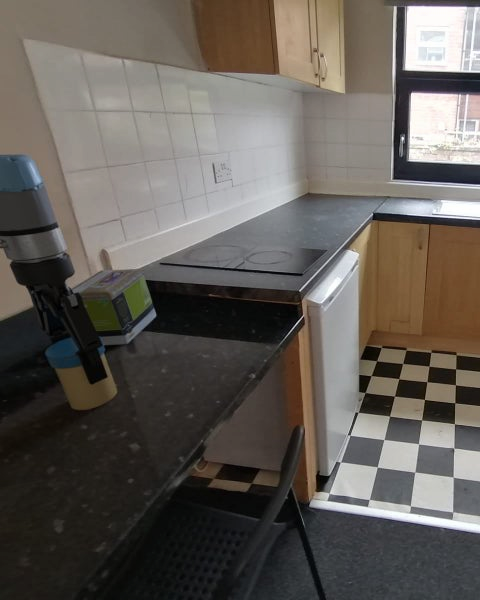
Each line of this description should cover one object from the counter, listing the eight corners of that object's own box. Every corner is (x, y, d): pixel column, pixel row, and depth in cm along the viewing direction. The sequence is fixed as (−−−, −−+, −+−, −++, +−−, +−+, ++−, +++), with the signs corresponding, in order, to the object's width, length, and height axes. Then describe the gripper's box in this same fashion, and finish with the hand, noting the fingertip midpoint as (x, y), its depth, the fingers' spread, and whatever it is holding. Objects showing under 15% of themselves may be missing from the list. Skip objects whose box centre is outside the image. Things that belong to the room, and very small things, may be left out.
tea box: (119, 322, 105) (101, 268, 99) (159, 320, 106) (144, 267, 100) (83, 352, 91) (60, 292, 85) (129, 350, 92) (109, 290, 86)
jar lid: (39, 372, 68) (34, 360, 67) (62, 348, 75) (58, 337, 74) (94, 364, 70) (90, 353, 69) (111, 342, 77) (108, 331, 76)
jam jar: (62, 413, 72) (39, 361, 68) (80, 389, 79) (60, 340, 74) (109, 406, 74) (89, 355, 70) (123, 383, 81) (106, 335, 76)
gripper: (-18, 252, 67) (33, 366, 76) (42, 274, 57) (93, 402, 66) (36, 241, 73) (78, 348, 82) (99, 260, 63) (139, 379, 72)
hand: (84, 372), depth 74 cm, fingers open, 9 cm apart
